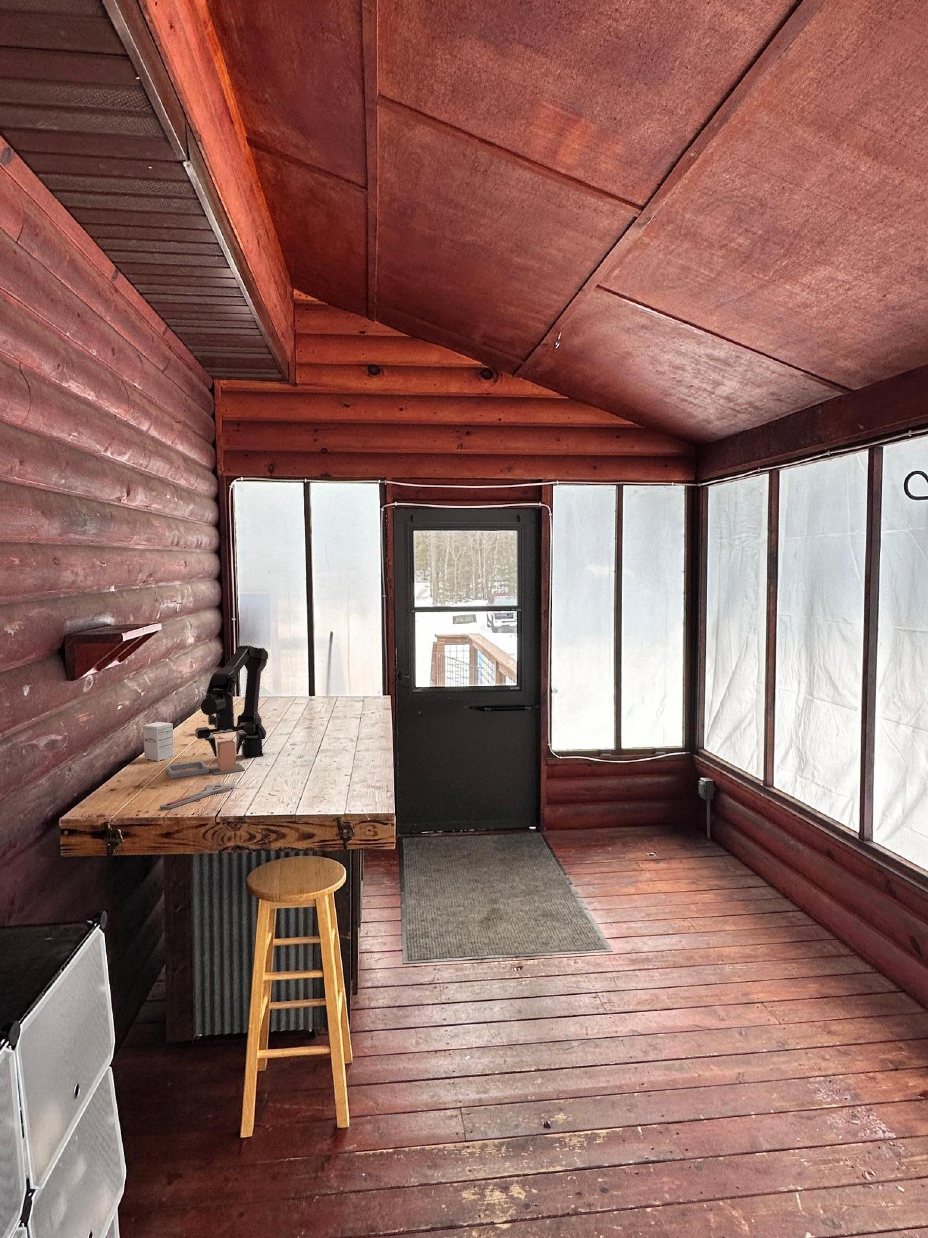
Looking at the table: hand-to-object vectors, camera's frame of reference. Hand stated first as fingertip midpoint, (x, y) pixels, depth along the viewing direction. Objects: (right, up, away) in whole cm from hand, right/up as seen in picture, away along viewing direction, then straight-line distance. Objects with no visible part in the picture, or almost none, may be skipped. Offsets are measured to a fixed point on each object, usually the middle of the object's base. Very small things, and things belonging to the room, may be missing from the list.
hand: (226, 755), depth 247 cm
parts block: (0, -5, 0) cm, 5 cm away
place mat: (0, -5, 0) cm, 5 cm away
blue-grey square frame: (-13, -5, -1) cm, 14 cm away
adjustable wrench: (+2, -7, -29) cm, 30 cm away
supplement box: (-30, -5, +18) cm, 35 cm away
